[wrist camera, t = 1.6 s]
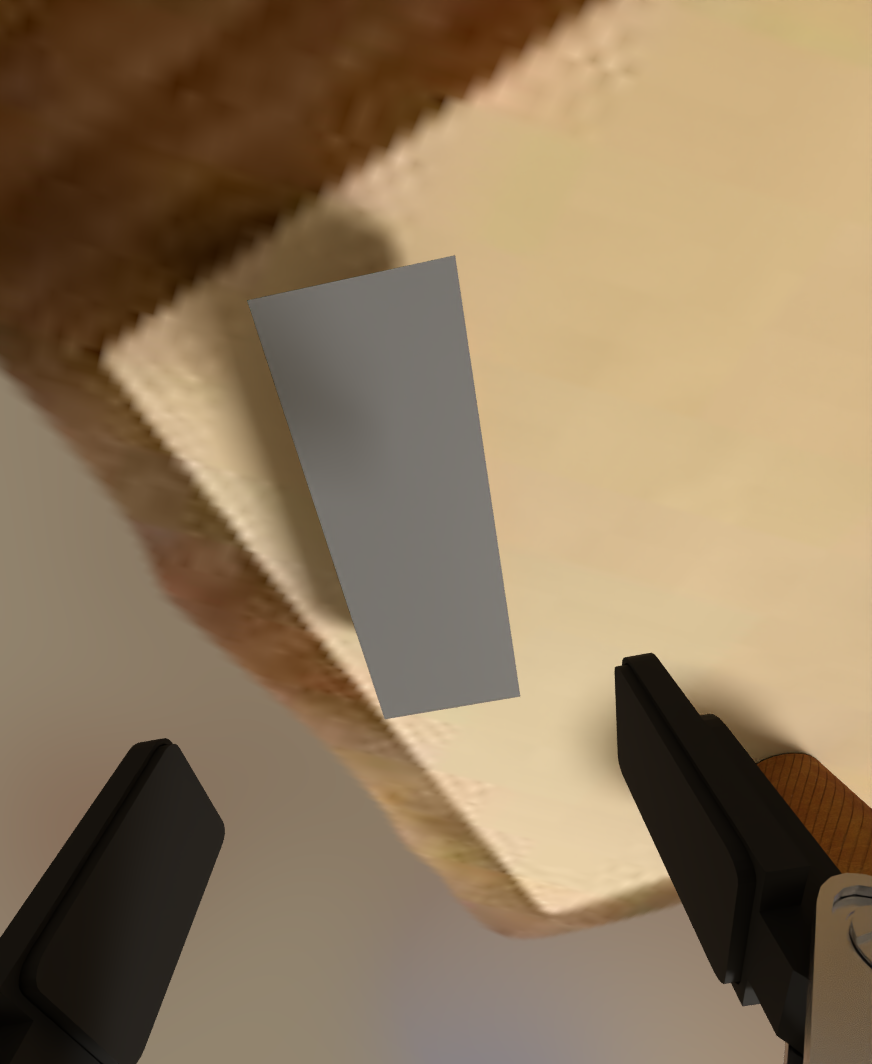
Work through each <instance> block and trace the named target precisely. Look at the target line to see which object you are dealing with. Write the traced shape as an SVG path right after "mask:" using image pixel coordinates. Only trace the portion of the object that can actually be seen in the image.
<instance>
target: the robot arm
mask: <svg viewBox="0 0 872 1064" xmlns="http://www.w3.org/2000/svg"><path fill="white" fill-rule="evenodd" d="M615 695H616V721H617V747H618V761H619V765H620V769H621V771H622V774H623V777H624V779H625V781H626V783H627V785H628V787H629V790H630V792H631V794H632V796H633V798H634V800H635V803H636V805H637V807H638V809H639V811H640V813H641V816H642V818H643V820H644V822H645V824H646V826H647V828H648V831H649V833H650V835H651V837H652V839H653V841H654V844H655V846H656V848H657V850H658V852H659V854H660V857H661V859H662V861H663V863H664V865H665V867H666V870H667V872H668V874H669V876H670V878H671V880H672V882H673V885H674V887H675V889H676V891H677V893H678V895H679V898H680V900H681V902H682V904H683V906H684V908H685V911H686V913H687V915H688V917H689V919H690V921H691V923H692V926H693V928H694V929H695V932H696V934H697V936H698V939H699V941H700V943H701V945H702V947H703V949H704V952H705V954H706V956H707V958H708V960H709V962H710V964H711V966H712V968H713V971H714V973H715V974H716V976H717V978H718V979H719V980H720V982H721V983H723V984H726V983H731V984H732V986H733V988H734V990H735V992H736V994H737V996H738V998H739V1000H740V1002H741V1004H742V1006H748V1005H755V1004H761V1006H762V1008H763V1010H764V1012H765V1014H766V1016H767V1018H768V1020H769V1022H770V1024H771V1025H772V1027H773V1029H774V1031H775V1033H776V1035H777V1036H778V1037H779V1038H781V1039H782V1040H784V1041H785V1050H784V1063H783V1064H872V876H870V875H867V874H856V873H843V874H842V873H841V872H840V870H839V869H838V868H837V867H836V865H835V864H834V863H833V861H832V860H831V859H830V858H829V856H828V855H827V854H826V852H825V851H824V850H823V849H822V847H821V846H820V845H819V844H818V842H817V841H816V840H815V838H814V837H813V836H812V835H811V833H810V832H809V831H808V829H807V828H806V827H805V826H804V824H803V823H802V822H801V821H800V819H799V818H798V817H797V815H796V814H795V813H794V812H793V810H792V809H791V808H790V807H789V805H788V804H787V803H786V801H785V800H784V799H783V798H782V796H781V795H780V794H779V792H778V791H777V790H776V789H775V787H774V786H773V785H772V784H771V782H770V781H769V780H768V778H767V777H766V776H765V775H764V773H763V772H762V771H761V770H760V768H759V767H758V766H757V764H756V763H755V762H754V761H753V759H752V758H751V757H750V755H749V754H748V753H747V752H746V750H745V749H744V748H743V747H742V745H741V744H740V743H739V741H738V740H737V739H736V738H735V736H734V735H733V734H732V732H731V731H730V730H729V729H728V727H727V726H726V725H725V724H724V723H723V722H722V721H721V720H720V718H718V717H717V716H715V715H714V714H706V715H699V714H698V712H697V711H696V710H695V708H694V707H693V705H692V704H691V703H690V701H689V700H688V699H687V697H686V696H685V695H684V693H683V692H682V691H681V689H680V688H679V686H678V685H677V684H676V682H675V681H674V680H673V678H672V677H671V676H670V674H669V673H668V671H667V670H666V669H665V667H664V666H663V665H662V663H661V662H660V661H659V659H658V658H657V657H656V656H655V655H654V654H653V653H647V654H642V655H636V656H630V657H625V658H623V660H622V666H617V667H615ZM224 835H225V828H224V823H223V821H222V819H221V818H220V816H219V814H218V813H217V811H216V809H215V807H214V806H213V804H212V802H211V801H210V799H209V797H208V796H207V794H206V792H205V790H204V789H203V787H202V785H201V784H200V782H199V780H198V779H197V777H196V775H195V773H194V772H193V770H192V768H191V767H190V765H189V763H188V761H187V760H186V758H185V756H184V755H183V753H182V751H181V750H180V748H179V747H178V745H176V744H172V742H171V741H170V740H169V739H166V738H164V739H157V740H151V741H146V742H140V743H137V744H135V745H134V746H133V747H132V748H131V749H130V750H129V751H128V753H127V754H126V756H125V757H124V759H123V760H122V762H121V763H120V764H119V766H118V767H117V769H116V770H115V772H114V773H113V775H112V776H111V777H110V779H109V780H108V782H107V783H106V785H105V786H104V788H103V789H102V791H101V792H100V794H99V795H98V796H97V798H96V799H95V801H94V802H93V804H92V805H91V807H90V808H89V809H88V811H87V812H86V814H85V815H84V817H83V818H82V820H81V821H80V823H79V824H78V825H77V827H76V828H75V830H74V831H73V833H72V834H71V836H70V837H69V838H68V840H67V841H66V843H65V845H64V846H63V847H62V849H61V850H60V852H59V853H58V854H57V856H56V858H55V859H54V861H53V862H52V863H51V865H50V866H49V868H48V869H47V871H46V872H45V873H44V875H43V876H42V878H41V879H40V881H39V882H38V884H37V885H36V887H35V888H34V889H33V891H32V892H31V894H30V895H29V897H28V898H27V900H26V901H25V902H24V904H23V905H22V907H21V908H20V910H19V911H18V913H17V914H16V916H15V917H14V919H13V920H12V921H11V923H10V924H9V926H8V927H7V929H6V930H5V932H4V933H3V935H2V936H1V937H0V1064H136V1063H137V1062H138V1060H139V1059H140V1057H141V1055H142V1053H143V1051H144V1049H145V1046H146V1043H147V1041H148V1038H149V1035H150V1033H151V1030H152V1028H153V1025H154V1022H155V1020H156V1017H157V1015H158V1012H159V1009H160V1007H161V1004H162V1001H163V999H164V996H165V993H166V991H167V988H168V986H169V983H170V980H171V978H172V975H173V972H174V970H175V967H176V965H177V962H178V959H179V957H180V954H181V951H182V948H183V946H184V944H185V940H186V938H187V935H188V933H189V930H190V928H191V925H192V922H193V920H194V917H195V915H196V912H197V909H198V907H199V904H200V901H201V899H202V896H203V894H204V891H205V888H206V886H207V883H208V880H209V878H210V875H211V872H212V870H213V867H214V865H215V862H216V859H217V857H218V854H219V851H220V849H221V846H222V843H223V840H224Z"/></svg>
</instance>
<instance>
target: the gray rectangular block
mask: <svg viewBox="0 0 872 1064" xmlns="http://www.w3.org/2000/svg"><path fill="white" fill-rule="evenodd" d="M247 302H248V305H249V308H250V311H251V314H252V317H253V320H254V323H255V326H256V329H257V332H258V335H259V338H260V341H261V344H262V347H263V350H264V353H265V356H266V360H267V363H268V366H269V369H270V372H271V375H272V378H273V381H274V384H275V387H276V390H277V393H278V396H279V399H280V402H281V405H282V408H283V411H284V414H285V417H286V420H287V423H288V426H289V429H290V432H291V435H292V439H293V442H294V445H295V448H296V451H297V454H298V457H299V460H300V463H301V466H302V469H303V472H304V475H305V478H306V481H307V484H308V487H309V490H310V493H311V496H312V499H313V502H314V505H315V508H316V511H317V514H318V518H319V521H320V524H321V527H322V530H323V533H324V536H325V539H326V542H327V545H328V548H329V551H330V554H331V557H332V560H333V563H334V566H335V569H336V572H337V575H338V578H339V581H340V584H341V587H342V590H343V593H344V597H345V600H346V603H347V606H348V609H349V612H350V615H351V618H352V621H353V624H354V627H355V630H356V633H357V636H358V639H359V642H360V645H361V648H362V651H363V654H364V657H365V660H366V663H367V666H368V669H369V672H370V675H371V679H372V682H373V685H374V688H375V691H376V694H377V697H378V700H379V703H380V706H381V709H382V712H383V715H384V718H385V719H389V718H395V717H401V716H407V715H413V714H419V713H424V712H430V711H436V710H442V709H448V708H454V707H460V706H466V705H472V704H478V703H484V702H490V701H496V700H502V699H508V698H514V697H520V691H519V685H518V678H517V671H516V664H515V658H514V651H513V644H512V637H511V631H510V624H509V617H508V610H507V603H506V597H505V590H504V583H503V576H502V570H501V563H500V556H499V549H498V543H497V536H496V529H495V522H494V516H493V509H492V502H491V495H490V488H489V482H488V475H487V468H486V461H485V455H484V448H483V441H482V434H481V428H480V421H479V414H478V407H477V401H476V394H475V387H474V380H473V373H472V367H471V360H470V353H469V346H468V340H467V333H466V326H465V319H464V313H463V306H462V299H461V292H460V286H459V279H458V272H457V265H456V258H455V256H450V257H445V258H441V259H436V260H431V261H427V262H422V263H418V264H413V265H408V266H404V267H399V268H395V269H390V270H385V271H381V272H376V273H371V274H367V275H362V276H358V277H353V278H348V279H344V280H339V281H335V282H330V283H325V284H321V285H316V286H311V287H307V288H302V289H298V290H293V291H288V292H284V293H279V294H275V295H270V296H265V297H261V298H256V299H251V300H247Z"/></svg>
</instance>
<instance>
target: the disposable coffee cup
mask: <svg viewBox="0 0 872 1064" xmlns="http://www.w3.org/2000/svg"><path fill="white" fill-rule="evenodd" d="M757 766H758V767H759V768H760V770H761V771H762V772H763V773H764V775H765V776H766V777H767V778H768V780H769V781H770V782H771V784H772V785H773V786H774V787H775V789H776V790H777V791H778V792H779V794H780V795H781V796H782V798H783V799H784V800H785V801H786V803H787V804H788V805H789V807H790V808H791V809H792V810H793V812H794V813H795V814H796V815H797V817H798V818H799V819H800V821H801V822H802V823H803V824H804V826H805V827H806V828H807V829H808V831H809V832H810V833H811V835H812V836H813V837H814V838H815V840H816V841H817V842H818V844H819V845H820V846H821V847H822V849H823V850H824V851H825V852H826V854H827V855H828V856H829V858H830V859H831V860H832V861H833V863H834V864H835V865H836V867H837V868H838V869H839V870H840V872H841V873H842V874H843V873H856V874H867V875H870V876H872V809H871V808H870V807H869V806H868V805H867V804H866V803H865V802H864V801H862V800H861V799H860V798H859V797H858V796H857V795H856V794H855V793H853V792H852V791H851V790H850V789H849V788H848V787H847V786H846V785H845V784H843V783H842V782H841V781H840V780H839V779H838V778H837V777H836V776H835V775H833V774H832V773H831V772H830V771H829V770H828V769H827V768H826V767H825V766H823V765H822V764H821V763H820V762H819V761H818V760H817V759H815V758H814V757H812V756H809V755H805V754H795V753H792V754H783V755H779V756H774V757H771V758H769V759H766V760H764V761H762V762H760V763H758V764H757Z"/></svg>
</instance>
